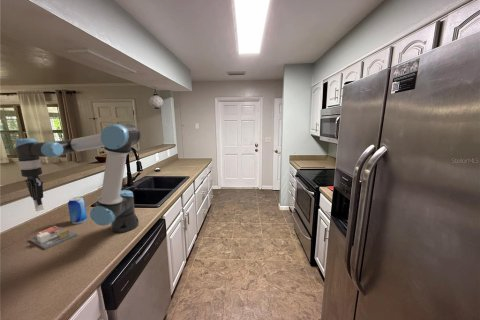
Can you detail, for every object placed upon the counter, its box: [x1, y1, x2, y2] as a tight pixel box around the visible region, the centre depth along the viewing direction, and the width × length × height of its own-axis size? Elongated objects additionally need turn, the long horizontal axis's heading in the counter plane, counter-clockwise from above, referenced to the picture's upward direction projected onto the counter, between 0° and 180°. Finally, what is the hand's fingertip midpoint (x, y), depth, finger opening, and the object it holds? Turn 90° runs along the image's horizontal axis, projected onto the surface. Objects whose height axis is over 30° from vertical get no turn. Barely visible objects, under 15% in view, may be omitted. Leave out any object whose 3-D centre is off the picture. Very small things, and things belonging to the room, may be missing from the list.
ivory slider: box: [36, 232, 51, 243], centre depth 107 cm, size 4×4×4 cm
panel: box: [28, 226, 78, 250], centre depth 111 cm, size 18×14×2 cm
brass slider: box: [56, 228, 70, 239], centre depth 110 cm, size 4×4×4 cm
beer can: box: [67, 196, 88, 225], centre depth 128 cm, size 8×8×16 cm
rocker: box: [36, 225, 59, 236], centre depth 112 cm, size 5×8×1 cm, turn 155°
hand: (39, 210), depth 108 cm, fingers closed
